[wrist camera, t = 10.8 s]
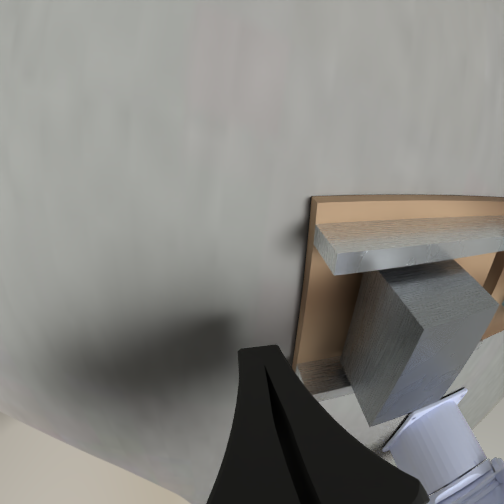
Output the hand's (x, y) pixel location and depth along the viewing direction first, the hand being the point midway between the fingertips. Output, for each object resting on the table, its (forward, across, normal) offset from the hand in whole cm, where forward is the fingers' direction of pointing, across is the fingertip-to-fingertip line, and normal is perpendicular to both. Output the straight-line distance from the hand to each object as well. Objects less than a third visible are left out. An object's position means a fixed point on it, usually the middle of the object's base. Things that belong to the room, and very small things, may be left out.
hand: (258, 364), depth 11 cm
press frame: (+3, -13, 0) cm, 14 cm away
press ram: (+2, -6, 0) cm, 7 cm away
